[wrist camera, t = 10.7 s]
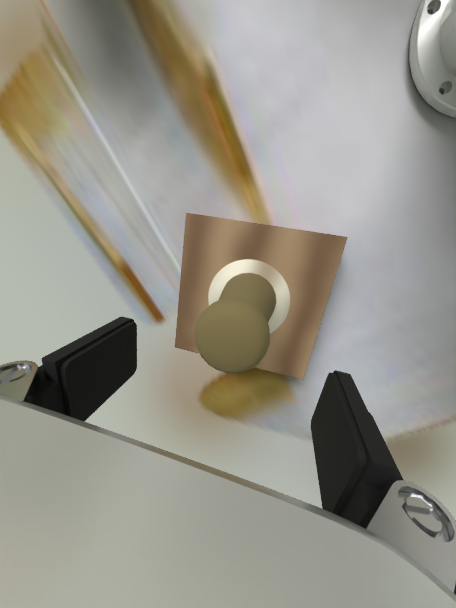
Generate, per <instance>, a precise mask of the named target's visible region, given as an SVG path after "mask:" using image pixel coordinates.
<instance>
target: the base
mask: <svg viewBox="0 0 456 608" xmlns="http://www.w3.org/2000/svg"><path fill="white" fill-rule="evenodd" d="M346 240H347V237H343V236H336V235H330V234H323V233H316V232H310V231H303V230H296V229H290V228H283V227H277V226H270V225H263V224H257V223H250V222H243V221H237V220H230V219H224V218H217V217H210V216H204V215H197V214H190V213H186V221H185V233H184V245H183V257H182V269H181V281H180V293H179V305H178V318H177V329H176V341H175V347H176V348H180V349H184V350H188V351H192V352H196V353H199V351H198V349H197V346H196V343H195V336H194V334H195V328H196V324H197V321H198V319H199V317H200V315H201V314H202V312H203V311H204V310H205V309H206V308H207V307H209V306H210V305H211V304H212V303H213V302H216V301H218V300H219V298H220V295H221V293H222V291H223V288H224V287H225V285H226V283H227V282H228V281H229V280H230V279H231V278H233V277H234V276H236V275H239V274H241V273H254V274H258V275H260V276H262V277H264V278H265V279H267V280H268V281H269V283H270V284H271V285H272V286H273V289H274V291H275V294H276V306H275V309H274V312H273V314H272V316H271V318H270V320H269V322H268V325H269V329H270V343H269V347H268V350H267V353H266V354H265V356H264V357H263V358H262V360H261V361H260V362H259V364H258V365H256V366H255V368H259V369H263V370H266V371H270V372H274V373H278V374H282V375H286V376H290V377H294V378H298V379H302V380H303V378H304V375H305V372H306V369H307V366H308V362H309V359H310V356H311V353H312V350H313V346H314V343H315V340H316V337H317V334H318V330H319V327H320V324H321V321H322V317H323V314H324V311H325V308H326V305H327V301H328V298H329V295H330V292H331V289H332V285H333V282H334V279H335V276H336V273H337V269H338V266H339V263H340V260H341V256H342V253H343V250H344V247H345V244H346Z"/></svg>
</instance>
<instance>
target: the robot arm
mask: <svg viewBox="0 0 456 608" xmlns="http://www.w3.org/2000/svg"><path fill="white" fill-rule="evenodd" d="M409 61H410V67H411V73H412V78H413V80H414V82H415V85H416V87H417V90H418V92H419V93H420V94H421V96H422V97H423V98H424V100H425V101H426V102H427V103H428V104H429V105H431V106H432V107H433V108H434V109H436V110H437V111H439V112H441V113H444V114H446V115H448V116H450V117H456V0H422V1H421V4H420V6H419V9H418V12H417V15H416V18H415V21H414V24H413V29H412V34H411V39H410V58H409ZM440 93H441V94H440ZM42 363H43V365H42V366H40V367H38V365H37V364H36V363H35V362H32V361H15V362H10V363H7V364H3V365H1V366H0V608H456V520H455V519H454V517H453V516H452V515H451V513H450V512H449V511H448V510H447V509H446V507H444V505H443V504H442V503H441V502H440V501H439V500H438V499H437V498H435V497H434V496H433V495H432V494H430V493H429V492H428V491H426V490H425V489H423V488H422V487H420V486H418V485H416V484H414V483H412V482H409V481H404V480H403V478H402V476H401V474H400V472H399V470H398V468H397V466H396V464H395V462H394V460H393V458H392V456H391V454H390V451H389V450H388V448H387V445H386V443H385V441H384V439H383V437H382V435H381V433H380V431H379V429H378V427H377V425H376V423H375V421H374V419H373V417H372V415H371V414H370V413H369V412H368V410H367V408H366V406H365V404H364V402H363V400H362V398H361V396H360V393H359V391H358V389H357V387H356V385H355V383H354V381H353V379H352V377H351V375H350V374H348V373H344V372H340V371H334V372H333V373H329V374H328V376H327V379H326V382H325V384H324V387H323V390H322V393H321V395H320V398H319V401H318V403H317V406H316V409H315V411H314V414H313V417H312V420H311V431H312V438H313V445H314V452H315V459H316V465H317V472H318V480H319V486H320V493H321V500H322V507H323V509H321V508H319V507H316V506H314V505H311V504H308V503H306V502H303V501H301V500H298V499H296V498H293V497H290V496H288V495H285V494H283V493H280V492H277V491H275V490H272V489H269V488H267V487H264V486H261V485H259V484H256V483H253V482H250V481H248V480H245V479H242V478H239V477H237V476H234V475H231V474H229V473H226V472H223V471H220V470H218V469H215V468H212V467H209V466H207V465H204V464H201V463H198V462H196V461H193V460H190V459H187V458H185V457H182V456H179V455H176V454H174V453H171V452H168V451H165V450H162V449H160V448H157V447H154V446H151V445H148V444H146V443H143V442H140V441H137V440H135V439H132V438H129V437H126V436H123V435H120V434H118V433H115V432H112V431H109V430H106V429H103V428H101V427H98V426H95V425H92V424H89V423H86V422H84V421H85V420H86V419H87V418H88V417H89V416H90V415H91V414H93V413H94V412H95V411H96V410H97V409H98V408H99V407H100V406H101V405H102V404H103V403H104V402H105V401H106V400H107V399H108V398H109V397H110V396H111V395H112V394H114V393H115V392H116V391H117V390H118V389H119V388H120V387H121V386H122V385H123V384H124V383H125V382H126V381H127V380H128V379H129V378H130V377H131V376H132V375H133V374H134V373H135V371H136V368H137V325H136V323H134V320H133V319H130V318H125V317H119V318H118V319H116V320H114V321H112V322H110V323H108V324H106V325H104V326H102V327H100V328H98V329H97V330H94V331H93V332H91V333H89V334H87V335H85V336H83V337H81V338H79V339H78V340H75V341H74V342H72V343H70V344H68V345H66V346H64V347H62V348H60V349H58V350H57V351H55V352H53V353H51V354H49V355H47V356H45V357H43V358H42Z"/></svg>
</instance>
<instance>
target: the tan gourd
mask: <svg viewBox="0 0 456 608" xmlns="http://www.w3.org/2000/svg"><path fill="white" fill-rule="evenodd" d="M275 306H276V294H275V291H274V289H273V286H272V285H271V284H270V283H269V281H268V280H267V279H265V278H264V277H262V276H260V275H258V274H254V273H241V274H239V275H236V276H234V277H233V278H231V279H230V280H229V281H228V282H227V283H226V285H225V287H224V288H223V291H222V293H221V295H220V298H219V300H218V301H216V302H213V303H212V304H211V305H210V306H209V307H207V308H206V309H205V310H204V311H203V312H202V314H201V315H200V317H199V319H198V321H197V324H196V328H195V334H194V336H195V343H196V346H197V349H198V351H199V353H200V355H201V357H202V358H203V359H204V360H205V361H206V362H207V363H208V364H209V365H210V366H212V367H213V368H215V369H217V370H219V371H223V372H226V373H239V372H243V371H247V370H250V369H251V368H253V367H255V366H256V365H258V364H259V362H260V361H261V360H262V358H263V357H264V356H265V354H266V353H267V350H268V347H269V343H270V329H269V325H268V322H269V320H270V318H271V316H272V314H273V312H274V309H275Z"/></svg>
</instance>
